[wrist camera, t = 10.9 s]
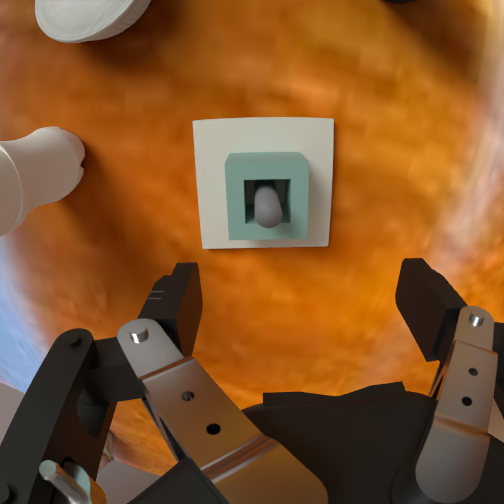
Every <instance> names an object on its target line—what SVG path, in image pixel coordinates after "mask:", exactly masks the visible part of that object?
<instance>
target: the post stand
mask: <svg viewBox="0 0 504 504" xmlns="http://www.w3.org/2000/svg"><path fill="white" fill-rule="evenodd" d="M193 132H194V149H195V164H196V178H197V191H198V203H199V215H200V226H201V237H202V248H203V249H217V248H266V247H319V246H328V242H329V228H330V213H331V195H332V172H333V137H334V119H331V118H305V117H253V118H225V119H208V120H195V121H193ZM242 152H301V154H302V155H303V156H304V157H305V158H306V159H307V160H308V161H309V188H308V223H307V239H263V240H229V232H228V216H227V199H226V181H225V161H226V159H227V157H228V155H229V153H242ZM246 196H247V204H255V220H256V222H257V223H258V224H259V225H260V226H261V227H264V228H273V227H276V226H277V225H278V224H279V223H280V222H281V220H282V210H281V206H280V203H285V179H261V180H246Z"/></svg>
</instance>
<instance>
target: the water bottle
mask: <svg viewBox="0 0 504 504" xmlns="http://www.w3.org/2000/svg"><path fill="white" fill-rule="evenodd" d="M84 157H85V149H84V146H83V144H82V142H81V140H80V139H79V138H78V137H77V136H76V135H74V134H73V133H71V132H68V131H64V130H63V129H62V128H59V127H45V128H41V129H38V130H36V131H34V132H33V133H32V134H30V135H28V136H26V137H24V138H21V139H18V140H14V141H0V237H1V236H3V235H6V234H8V233H10V232H12V231H13V230H14V229H16V228H17V227H19V226H20V225H21V224H22V223H23V221H24V220H25V218H26V216H27V215H28V213H29V212H30V211H32V210H33V209H35V208H36V207H38V206H40V205H43V204H47V203H52V202H56V201H58V200H60V199H62V198H63V197H65V196H67V195H68V194H69V193H70V192H71V191H72V190H74V188H75V187H76V186H77V185H78V183H79V182H80V180H81V178H82V176H83V173H84V168H82V167H81V166H80V164H81V162H82V160H83V159H84Z"/></svg>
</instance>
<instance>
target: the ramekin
mask: <svg viewBox="0 0 504 504" xmlns="http://www.w3.org/2000/svg"><path fill="white" fill-rule="evenodd" d="M150 2H151V0H36V3H35V13H36V19H37V22H38V24H39V26H40V28H41V29H42V31H43V32H44V33H45V34H46V35H47V36H49V37H50V38H52V39H54V40H57V41H60V42H65V43H79V42H85V41H94V40H101V39H106V38H108V37H112V36H114V35H117V34H119V33H121V32H123V31H124V30H125V29H127V28H129V27H130V26H131V25H132V24H134V23H135V22H136V21H137V20H138V19H139V18H140V16H141V15H142V14H143V13H144V12H145V10H146V9H147V7H148V5H149V3H150Z"/></svg>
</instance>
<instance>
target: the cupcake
mask: <svg viewBox="0 0 504 504" xmlns="http://www.w3.org/2000/svg"><path fill="white" fill-rule="evenodd" d="M111 460H114V456H113V435H112V433H111V432H110V431H109V432H108V436H107V439H106V443H105V447H104V450H103V454H102V458H101V462H100V465H99V469H102V468H103V467H105V466H106V465H107V464H108V462H111Z"/></svg>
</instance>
